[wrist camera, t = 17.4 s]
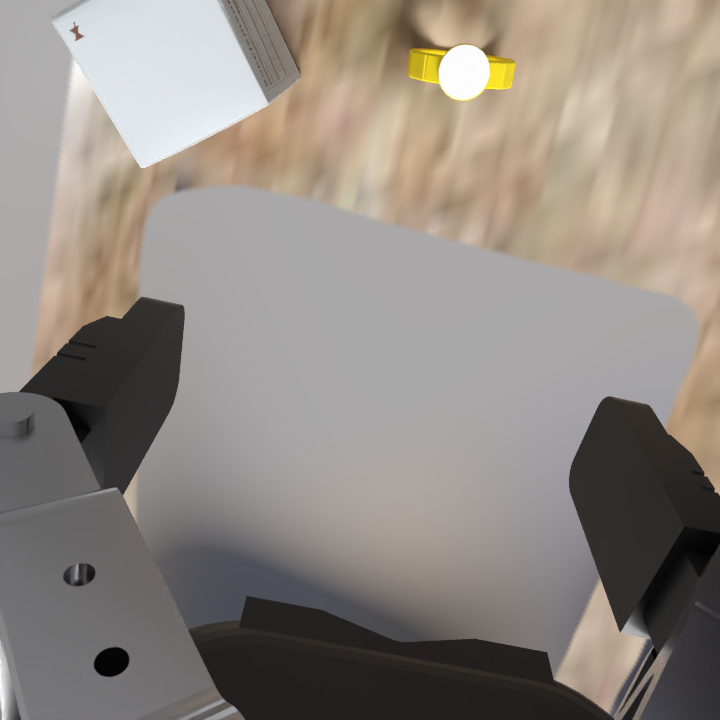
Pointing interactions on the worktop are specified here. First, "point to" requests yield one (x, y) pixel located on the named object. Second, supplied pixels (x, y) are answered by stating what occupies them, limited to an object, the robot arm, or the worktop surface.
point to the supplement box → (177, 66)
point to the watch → (461, 70)
